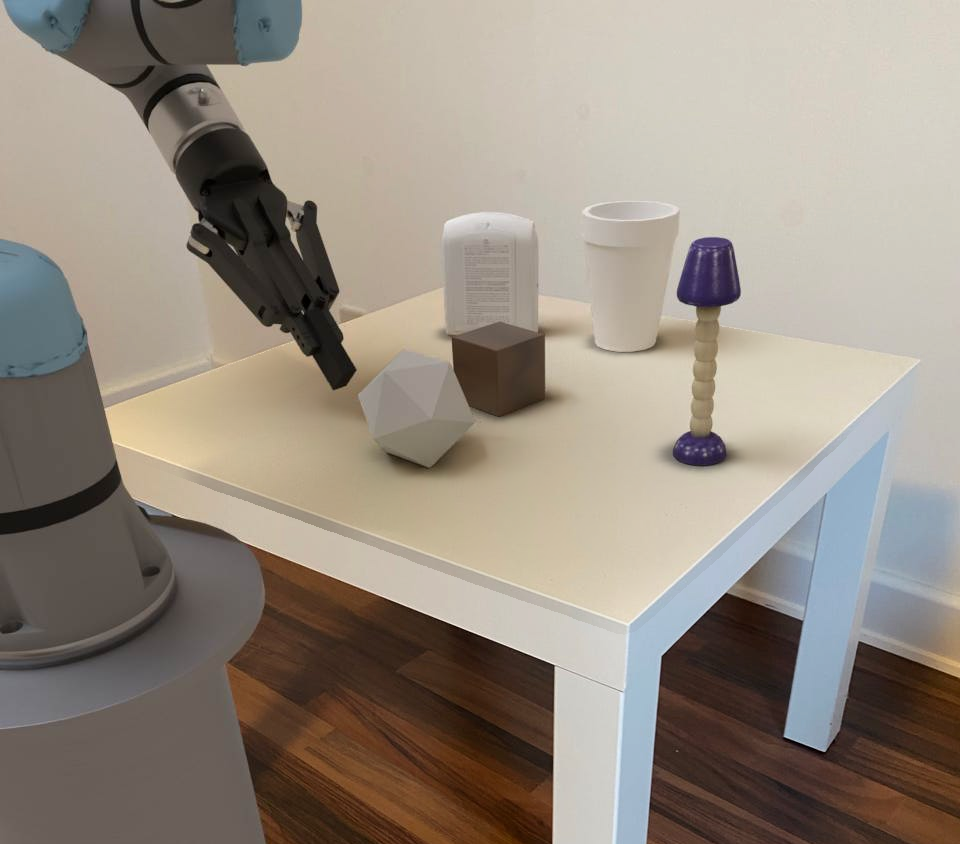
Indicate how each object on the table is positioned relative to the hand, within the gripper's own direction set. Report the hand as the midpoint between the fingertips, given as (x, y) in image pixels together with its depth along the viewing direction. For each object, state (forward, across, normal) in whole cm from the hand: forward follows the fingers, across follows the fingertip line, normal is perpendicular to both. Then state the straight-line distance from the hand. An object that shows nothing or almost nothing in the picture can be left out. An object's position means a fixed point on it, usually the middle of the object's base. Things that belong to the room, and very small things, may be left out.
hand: (344, 380), depth 89 cm
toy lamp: (+22, +15, -16) cm, 31 cm away
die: (+10, 0, -4) cm, 11 cm away
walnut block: (+7, +13, -2) cm, 15 cm away
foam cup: (+6, +33, 0) cm, 33 cm away
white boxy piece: (-3, +26, +9) cm, 28 cm away
